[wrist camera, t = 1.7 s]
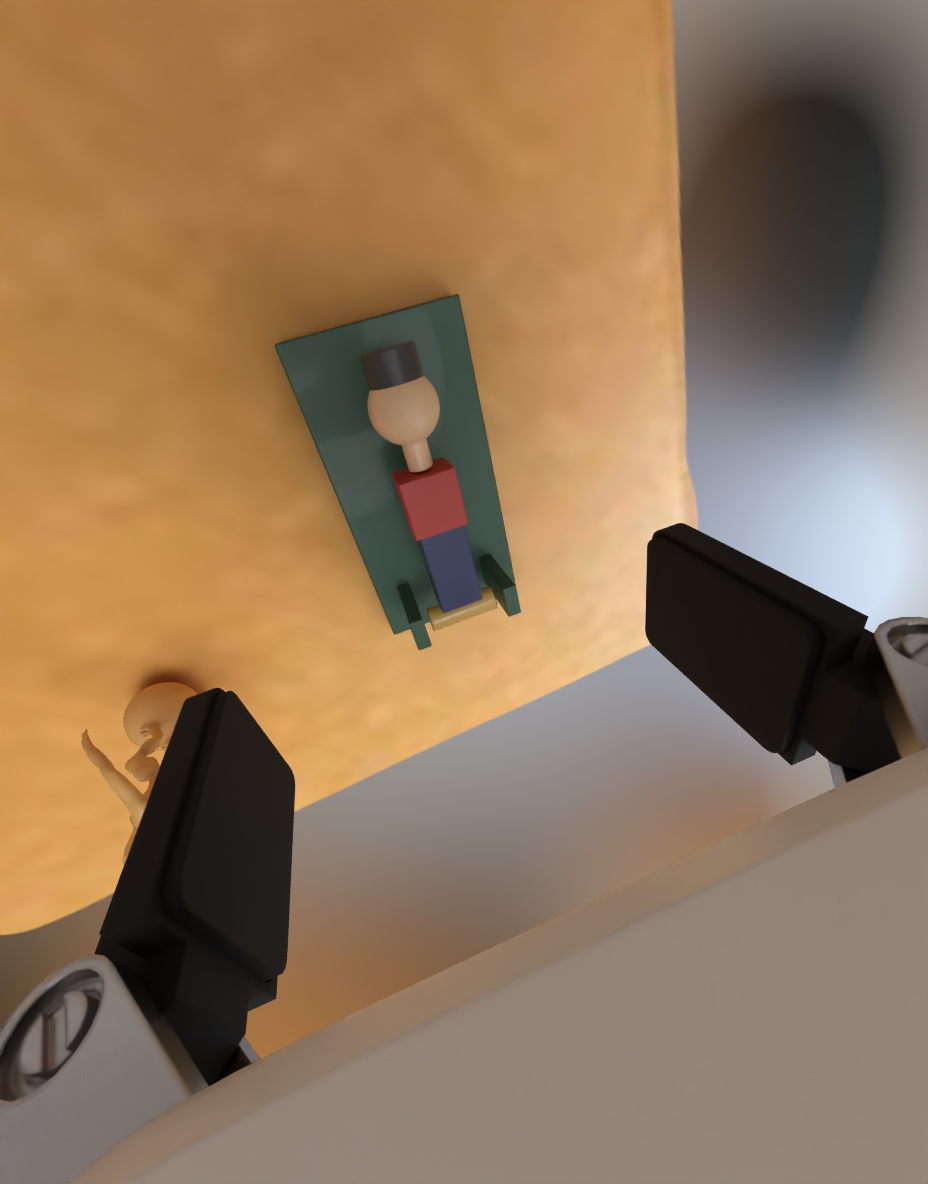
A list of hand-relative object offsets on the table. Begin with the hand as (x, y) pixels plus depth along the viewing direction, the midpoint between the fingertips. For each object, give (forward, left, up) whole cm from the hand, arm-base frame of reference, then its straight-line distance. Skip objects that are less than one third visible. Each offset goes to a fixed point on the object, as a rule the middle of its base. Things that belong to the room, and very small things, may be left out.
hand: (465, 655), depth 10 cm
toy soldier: (+1, +2, -15) cm, 15 cm away
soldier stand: (+1, +2, -18) cm, 18 cm away
